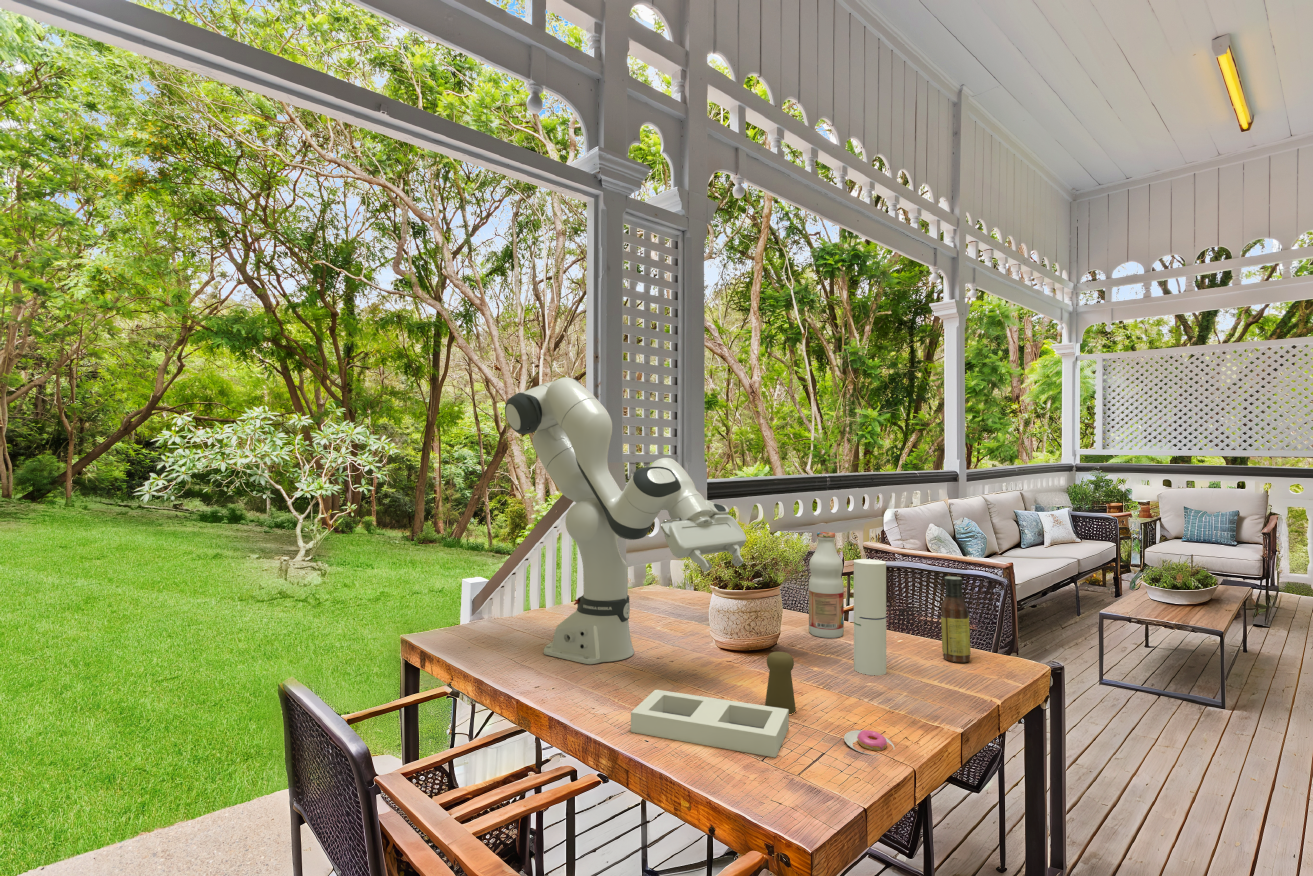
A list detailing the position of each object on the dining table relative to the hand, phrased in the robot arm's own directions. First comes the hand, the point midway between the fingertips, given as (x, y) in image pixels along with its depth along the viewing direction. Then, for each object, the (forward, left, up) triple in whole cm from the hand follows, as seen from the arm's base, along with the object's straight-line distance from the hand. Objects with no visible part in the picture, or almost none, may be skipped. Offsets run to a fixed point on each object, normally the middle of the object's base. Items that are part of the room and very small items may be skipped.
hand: (724, 566), depth 137 cm
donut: (+29, -16, -27) cm, 42 cm away
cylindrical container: (+28, +24, -26) cm, 45 cm away
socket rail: (+3, -21, -26) cm, 33 cm away
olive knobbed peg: (+13, -7, -26) cm, 30 cm away
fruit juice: (+15, +51, -26) cm, 59 cm away
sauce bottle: (+47, +40, -26) cm, 67 cm away
